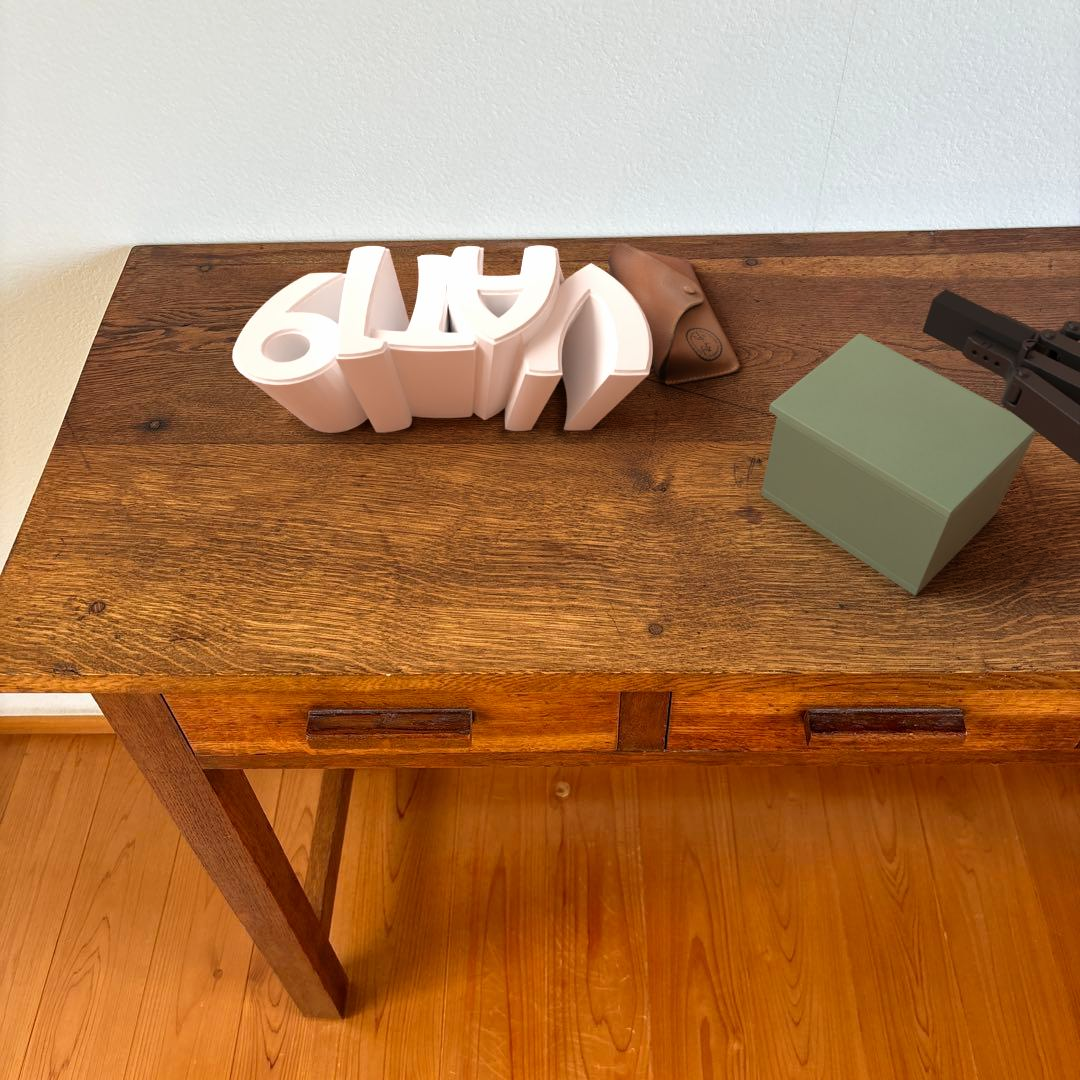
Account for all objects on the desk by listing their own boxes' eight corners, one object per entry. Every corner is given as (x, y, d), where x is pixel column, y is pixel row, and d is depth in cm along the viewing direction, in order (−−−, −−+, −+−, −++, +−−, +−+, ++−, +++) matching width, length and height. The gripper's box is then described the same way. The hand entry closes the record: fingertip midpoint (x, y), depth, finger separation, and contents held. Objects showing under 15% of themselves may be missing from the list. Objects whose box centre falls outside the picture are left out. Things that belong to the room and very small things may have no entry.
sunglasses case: (748, 367, 92) (719, 323, 87) (681, 408, 94) (649, 367, 89) (686, 254, 103) (657, 210, 99) (627, 293, 105) (596, 251, 101)
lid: (768, 411, 77) (769, 403, 76) (857, 340, 82) (860, 332, 81) (948, 519, 69) (951, 511, 69) (1035, 434, 74) (1038, 426, 74)
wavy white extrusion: (648, 337, 96) (655, 241, 88) (646, 463, 86) (653, 367, 78) (287, 328, 99) (261, 233, 90) (242, 449, 88) (208, 354, 80)
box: (760, 495, 83) (776, 416, 76) (844, 424, 88) (866, 344, 81) (915, 596, 76) (948, 520, 69) (996, 513, 81) (1034, 434, 74)
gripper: (1221, 601, 57) (864, 399, 68) (1313, 479, 62) (969, 311, 73) (1294, 513, 51) (891, 309, 62) (1388, 387, 56) (1003, 220, 68)
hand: (934, 310), depth 68 cm, fingers closed
